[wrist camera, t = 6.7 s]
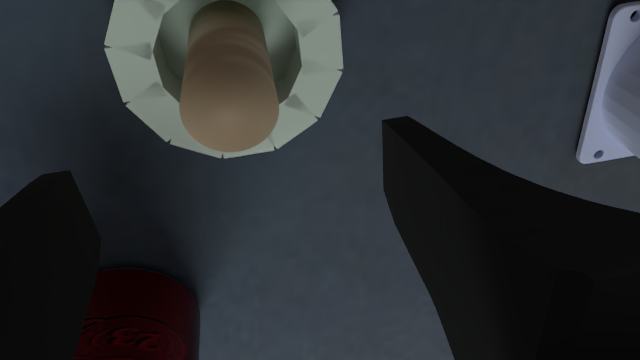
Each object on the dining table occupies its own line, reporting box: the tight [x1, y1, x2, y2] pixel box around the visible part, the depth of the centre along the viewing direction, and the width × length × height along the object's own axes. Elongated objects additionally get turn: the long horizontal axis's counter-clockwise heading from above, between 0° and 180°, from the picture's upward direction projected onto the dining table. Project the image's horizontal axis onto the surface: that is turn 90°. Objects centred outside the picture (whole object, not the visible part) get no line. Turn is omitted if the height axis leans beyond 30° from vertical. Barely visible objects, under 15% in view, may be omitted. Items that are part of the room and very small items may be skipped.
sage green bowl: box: [104, 0, 343, 159], centre depth 19 cm, size 8×8×2 cm
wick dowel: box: [179, 0, 279, 152], centre depth 17 cm, size 3×3×6 cm
